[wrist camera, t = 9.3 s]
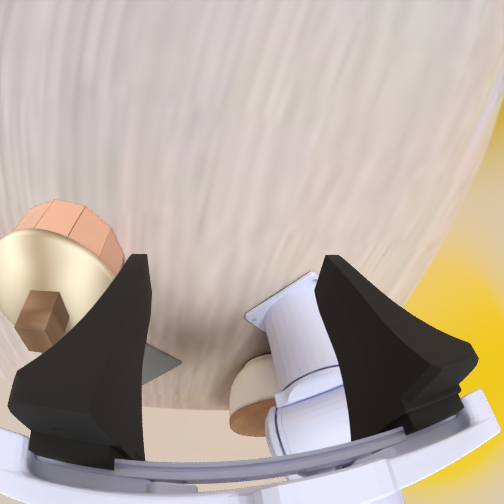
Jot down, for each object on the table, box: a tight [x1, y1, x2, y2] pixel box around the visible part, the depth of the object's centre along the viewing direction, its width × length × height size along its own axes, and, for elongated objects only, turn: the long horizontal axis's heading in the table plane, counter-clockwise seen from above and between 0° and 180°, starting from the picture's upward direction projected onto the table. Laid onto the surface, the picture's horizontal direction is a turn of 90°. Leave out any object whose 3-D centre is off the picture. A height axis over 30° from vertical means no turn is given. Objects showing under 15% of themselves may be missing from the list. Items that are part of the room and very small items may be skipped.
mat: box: [42, 343, 182, 385], centre depth 31 cm, size 13×13×1 cm
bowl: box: [14, 200, 124, 277], centre depth 20 cm, size 10×10×4 cm
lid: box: [0, 228, 115, 353], centre depth 17 cm, size 12×12×4 cm
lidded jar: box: [229, 354, 280, 437], centre depth 32 cm, size 11×11×9 cm
